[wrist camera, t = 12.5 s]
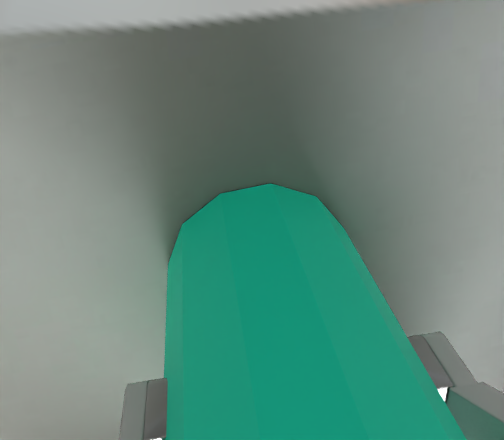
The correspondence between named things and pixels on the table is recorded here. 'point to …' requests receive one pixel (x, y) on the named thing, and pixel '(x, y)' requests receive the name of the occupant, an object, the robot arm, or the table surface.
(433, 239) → the table surface
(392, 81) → the table surface
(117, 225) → the table surface
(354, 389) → the candle
